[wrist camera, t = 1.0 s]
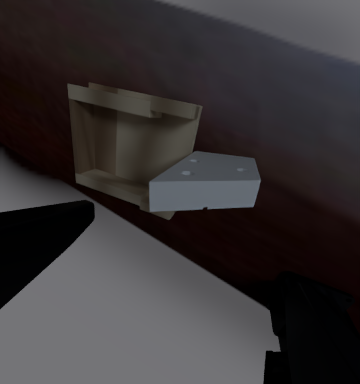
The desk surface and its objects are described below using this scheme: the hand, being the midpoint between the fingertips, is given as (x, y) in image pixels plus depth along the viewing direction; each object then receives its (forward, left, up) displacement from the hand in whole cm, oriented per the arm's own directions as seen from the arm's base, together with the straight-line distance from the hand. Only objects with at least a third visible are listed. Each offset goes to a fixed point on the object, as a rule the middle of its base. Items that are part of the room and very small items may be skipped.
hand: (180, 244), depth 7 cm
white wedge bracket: (0, 0, -12) cm, 12 cm away
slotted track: (+9, 0, -12) cm, 15 cm away
